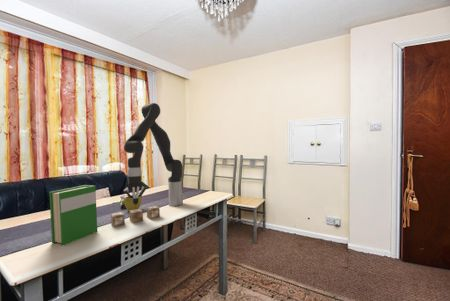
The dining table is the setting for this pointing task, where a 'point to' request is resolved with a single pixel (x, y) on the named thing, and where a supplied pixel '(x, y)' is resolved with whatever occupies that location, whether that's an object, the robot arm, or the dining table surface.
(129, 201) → the flower pot
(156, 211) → the labelled block
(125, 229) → the dining table surface
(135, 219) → the plain block
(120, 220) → the labelled block
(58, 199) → the hardback book
